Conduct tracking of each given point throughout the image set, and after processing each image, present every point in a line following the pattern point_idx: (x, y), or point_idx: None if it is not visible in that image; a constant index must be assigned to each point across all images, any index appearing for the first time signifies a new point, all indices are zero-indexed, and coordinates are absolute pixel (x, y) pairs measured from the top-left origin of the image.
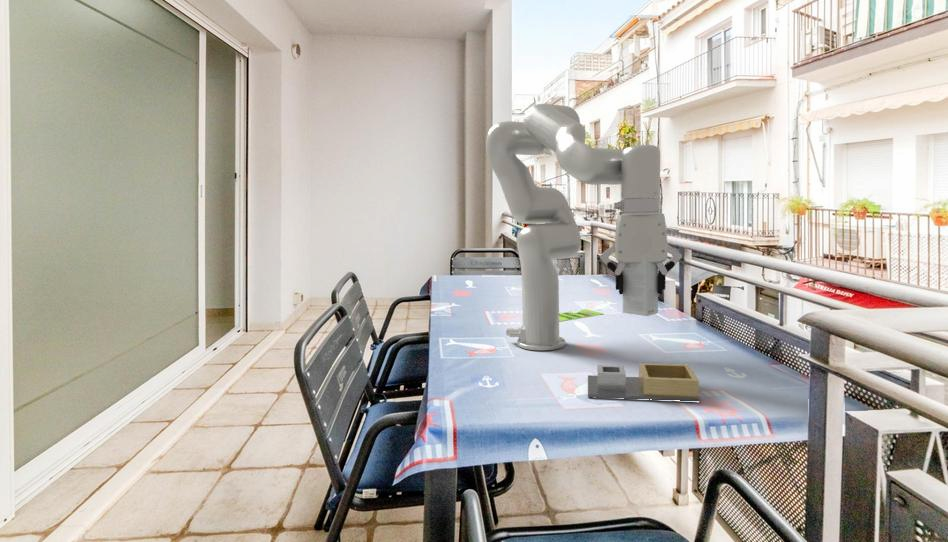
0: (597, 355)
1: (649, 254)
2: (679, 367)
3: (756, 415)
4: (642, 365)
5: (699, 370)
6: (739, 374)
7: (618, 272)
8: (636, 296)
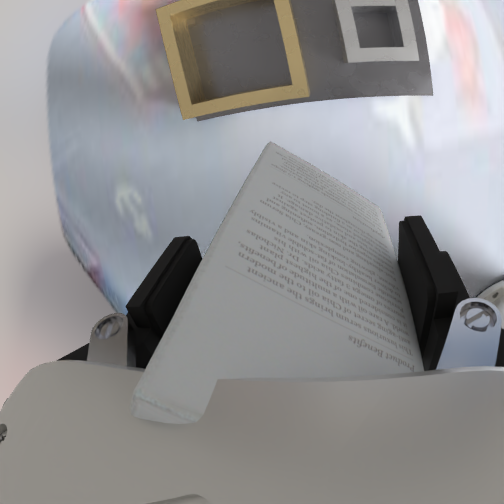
0: None
1: (102, 449)
2: (204, 101)
3: (93, 5)
4: (297, 77)
5: (189, 209)
6: (124, 203)
7: (470, 321)
8: (318, 203)
